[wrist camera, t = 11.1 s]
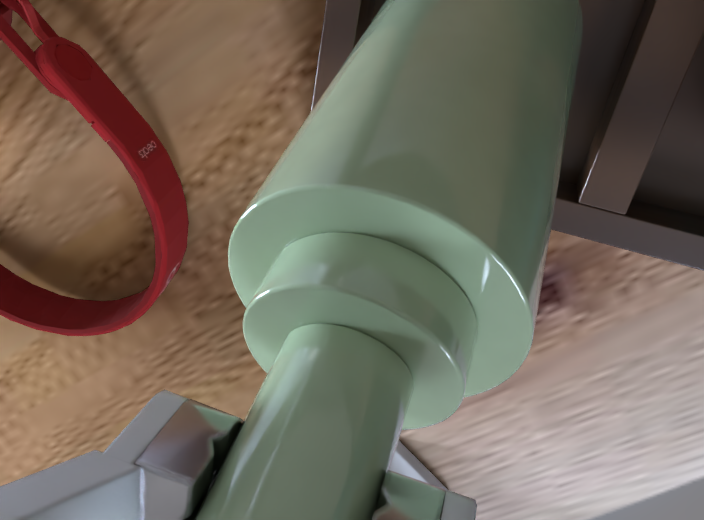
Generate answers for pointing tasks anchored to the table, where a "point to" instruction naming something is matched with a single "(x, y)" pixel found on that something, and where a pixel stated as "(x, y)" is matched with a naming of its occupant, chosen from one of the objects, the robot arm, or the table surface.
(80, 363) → the table surface
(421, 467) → the test tube rack
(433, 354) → the sage bottle
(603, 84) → the rack
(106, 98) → the headphones
